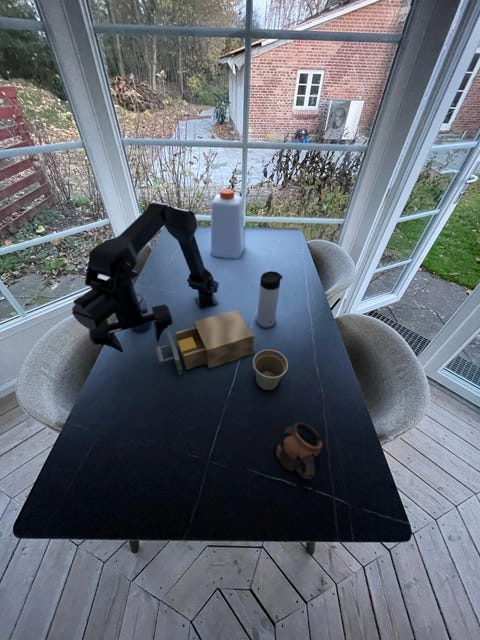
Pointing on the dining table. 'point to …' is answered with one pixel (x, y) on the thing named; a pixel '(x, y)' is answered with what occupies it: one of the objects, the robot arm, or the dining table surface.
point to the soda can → (144, 311)
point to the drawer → (190, 358)
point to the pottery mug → (299, 451)
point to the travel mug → (268, 298)
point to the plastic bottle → (227, 225)
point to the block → (186, 346)
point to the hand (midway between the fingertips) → (140, 345)
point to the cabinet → (225, 337)
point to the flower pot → (269, 368)
